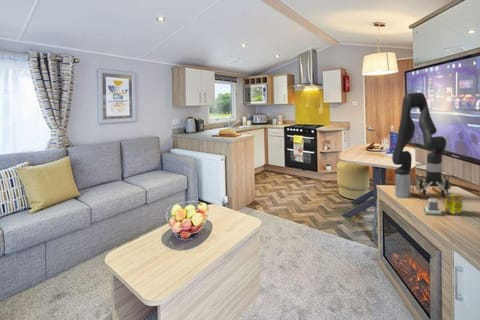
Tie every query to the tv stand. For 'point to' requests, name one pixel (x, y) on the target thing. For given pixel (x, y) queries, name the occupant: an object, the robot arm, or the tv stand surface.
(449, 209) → the supplement box
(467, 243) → the tv stand surface
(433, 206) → the plug
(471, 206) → the tv stand surface
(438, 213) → the socket board
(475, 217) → the tv stand surface
